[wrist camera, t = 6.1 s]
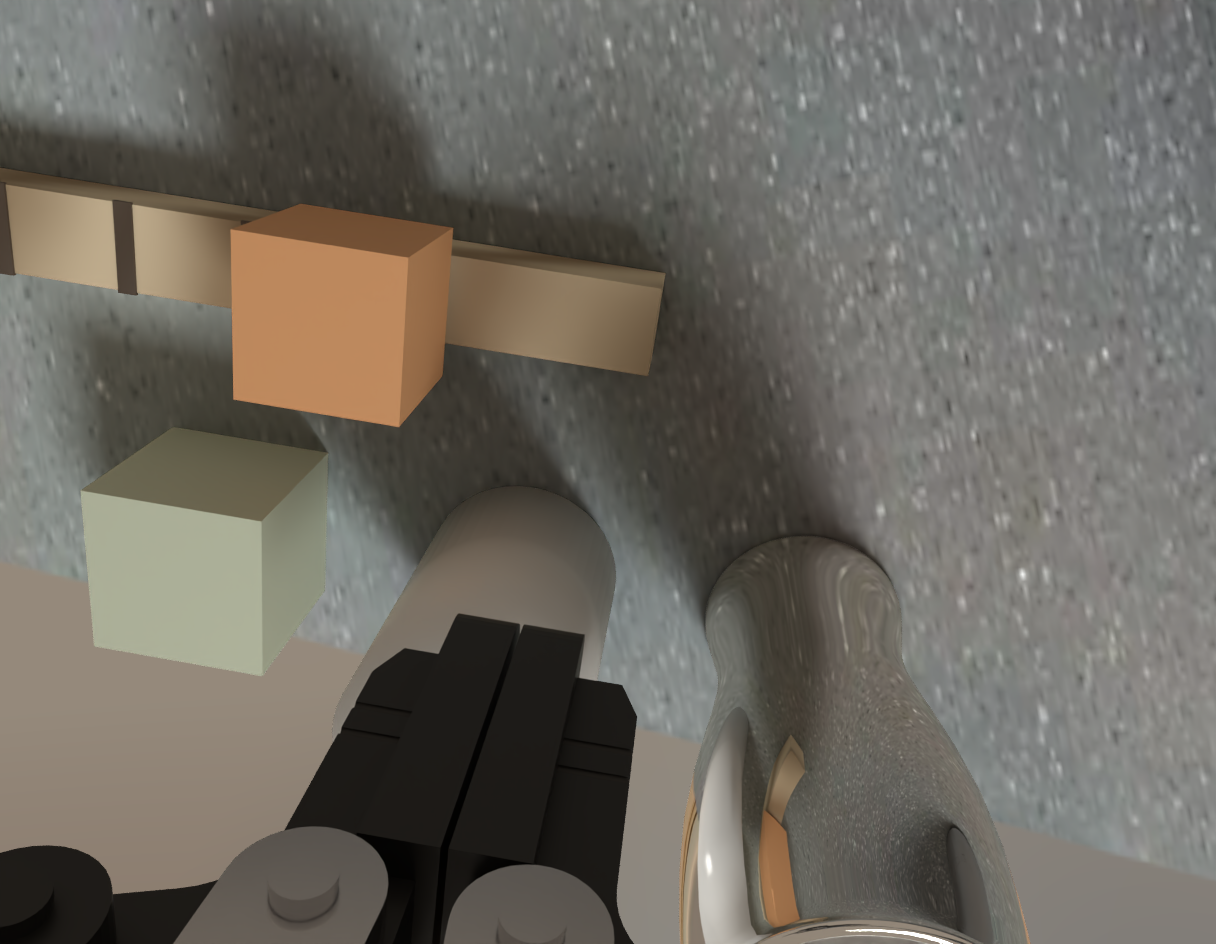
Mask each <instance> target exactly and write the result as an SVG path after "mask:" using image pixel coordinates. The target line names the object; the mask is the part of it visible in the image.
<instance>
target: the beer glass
mask: <svg viewBox="0 0 1216 944" xmlns="http://www.w3.org/2000/svg"><path fill="white" fill-rule="evenodd" d="M705 629H706V637H707V642H708V646H709V650H710V653H711V656H712V660H713V663H714V666H715V669H716V672H717V676H718V688H717V694H716V698H715V702H714V706H713V709H712V712H711V716H710V719H709V722H708V725H707V728H706V732H705V735H704V738H703V742H702V745H701V749H700V752H699V756H698V759H697V763H696V766H695V770H694V773H693V778H692V783H691V788H690V792H689V797H688V802H687V807H686V811H685V816H684V824H683V835H682V847H681V858H680V870H679V872H680V873H679V928H680V944H1031V943H1030V939H1029V936H1028V932H1027V927H1026V924H1025V920H1024V916H1023V912H1022V908H1021V904H1020V900H1019V897H1018V894H1017V891H1016V887H1015V884H1014V881H1013V878H1012V874H1011V872H1010V868H1009V865H1008V862H1007V859H1006V855H1005V852H1004V849H1003V846H1002V843H1001V841H1000V838H999V836H998V833H997V831H996V828H995V826H994V823H993V821H992V818H991V816H990V813H989V811H988V808H987V806H986V803H985V801H984V799H983V796H982V794H981V792H980V790H979V788H978V786H977V784H976V782H975V781H974V779H973V777H972V775H971V773H970V772H969V770H968V768H967V766H966V764H965V762H964V761H963V759H962V757H961V755H960V753H959V752H958V750H957V748H956V746H955V745H954V743H953V742H952V740H951V738H950V737H949V735H948V734H947V732H946V731H945V729H944V728H943V726H942V725H941V723H940V721H939V720H938V718H937V717H936V715H935V714H934V712H933V711H932V709H931V708H930V706H929V705H928V703H927V702H926V700H925V699H924V697H923V696H922V694H921V693H920V691H919V690H918V688H917V687H916V685H915V684H914V682H913V680H912V679H911V677H910V675H909V674H908V672H907V670H906V668H905V665H904V663H903V659H902V615H901V608H900V604H899V600H898V597H897V594H896V591H895V589H894V587H893V585H892V583H891V581H890V580H889V578H888V577H887V575H886V574H885V573H884V572H883V570H882V569H881V568H880V567H879V566H878V565H877V564H876V563H875V562H874V561H873V560H872V559H870V558H869V557H868V556H866V555H865V554H864V553H862V552H860V551H859V550H857V549H855V548H853V547H851V546H849V545H847V544H844V543H842V542H839V541H836V540H832V539H828V538H823V537H816V536H792V537H785V538H780V539H775V540H772V541H769V542H766V543H763V544H761V545H758V546H756V547H754V548H752V549H750V550H749V551H747V552H745V553H744V554H742V555H741V556H740V557H738V558H737V559H736V560H735V561H733V562H732V563H731V564H730V565H729V566H728V567H727V568H726V570H725V571H724V572H723V573H722V574H721V576H720V577H719V579H718V580H717V582H716V584H715V586H714V588H713V590H712V592H711V594H710V597H709V600H708V603H707V608H706V614H705Z"/></svg>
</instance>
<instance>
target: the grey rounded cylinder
mask: <svg viewBox="0 0 1216 944" xmlns="http://www.w3.org/2000/svg"><path fill="white" fill-rule="evenodd" d="M615 584H616V567H615V561H614V557H613V553H612V550H611V548H610V545H609V543H608V541H607V539H606V537H605V535H604V533H603V532H602V531H601V529H600V528H599V526H598V525H597V524H596V523H595V522H594V520H593V519H592V518H591V517H590V516H589V515H588V514H587V513H586V512H584V511H583V510H582V509H581V508H580V507H578V506H577V505H575V504H574V503H572V502H571V501H569V500H567V499H565V498H563V497H561V496H559V495H557V494H554V493H552V492H549V491H546V490H542V489H538V488H533V487H524V486H506V487H499V488H494V489H490V490H487V491H483V492H481V493H479V494H476V495H474V496H472V497H470V498H469V499H467V500H465V501H464V502H462V503H461V504H460V505H459V506H457V507H456V508H455V509H454V510H453V511H452V512H451V513H450V514H449V515H448V516H447V518H446V519H445V521H444V522H443V524H442V525H441V527H440V528H439V530H438V532H437V534H436V535H435V537H434V539H433V540H432V542H431V544H430V545H429V547H428V549H427V551H426V552H425V554H424V556H423V557H422V559H421V561H420V563H419V564H418V566H417V568H416V569H415V571H414V573H413V575H412V576H411V578H410V580H409V581H408V583H407V585H406V587H405V588H404V590H403V592H402V593H401V595H400V597H399V598H398V600H397V602H396V604H395V605H394V607H393V609H392V610H391V612H390V614H389V616H388V617H387V619H386V621H385V622H384V624H383V626H382V628H381V629H380V631H379V633H378V634H377V636H376V638H375V639H374V641H373V643H372V645H371V646H370V648H369V650H368V651H367V653H366V655H365V657H364V658H363V660H362V662H361V664H360V665H359V667H358V669H357V670H356V672H355V674H354V675H353V677H352V679H351V681H350V682H349V684H348V686H347V687H346V689H345V691H344V692H343V694H342V696H341V699H340V701H339V703H338V705H337V708H336V711H335V715H334V719H333V728H332V738H333V741H334V740H335V738H336V736H337V734H338V733H339V734H340V732H341V728H342V725H343V723H344V722H345V720H346V718H347V716H348V714H349V713H350V711H351V709H352V708H354V707H355V703H356V700H357V698H358V696H359V694H360V693H361V691H362V689H363V687H364V685H365V684H366V682H367V680H368V678H369V676H370V674H371V673H372V671H373V670H375V669H376V668H377V667H379V666H380V665H382V664H383V663H384V662H386V661H387V660H389V659H390V658H391V657H393V656H394V655H396V654H397V653H398V652H400V651H401V650H402V649H404V648H408V649H413V650H419V651H425V652H431V653H437V654H439V652H440V649H441V647H442V645H443V643H444V641H445V639H446V636H447V634H448V632H449V630H450V628H451V625H452V623H453V621H454V619H455V617H456V616H457V614H459V613H460V614H466V615H472V616H478V617H484V618H490V619H496V620H501V621H507V622H513V623H519V624H520V633H521V630H522V627H523V625H524V624H526V625H532V626H538V627H544V628H550V629H556V630H561V631H567V632H573V633H579V634H585V641H584V648H583V655H582V662H581V669H580V676H579V678H583V679H589V680H595V681H597V679H598V674H599V669H600V664H601V659H602V653H603V648H604V643H605V638H606V633H607V627H608V622H609V617H610V612H611V607H612V601H613V596H614V591H615Z"/></svg>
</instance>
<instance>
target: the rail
mask: <svg viewBox="0 0 1216 944" xmlns="http://www.w3.org/2000/svg"><path fill="white" fill-rule="evenodd" d="M274 213H277V211H270V210H264V209H258V208H251V207H245V206H239V205H232V204H226V203H220V202H214V201H207V200H201V199H195V198H188V197H182V196H176V195H169V194H163V193H157V192H150V191H144V190H138V189H132V188H125V187H119V186H113V185H106V184H100V183H94V182H87V181H81V180H75V179H68V178H62V177H56V176H49V175H43V174H37V173H31V172H24V171H18V170H12V169H5V168H0V273H1V274H7V275H16V273H17V274H23V275H30V276H36V277H42V278H48V279H54V280H60V281H66V282H73V283H79V284H85V285H91V286H97V287H103V288H109V289H116V290H118V293H124V294H130V295H138V293H140V294H146V295H152V296H159V297H165V298H171V299H177V300H183V301H189V302H195V303H202V304H208V305H214V306H220V307H226V308H232V285H231V229H233V228H236V227H238V226H241V225H244V224H246V223H249V222H252V221H255V220H257V219H260V218H263V217H266V216H268V215H271V214H274ZM665 274H666V273H662V272H655V271H649V270H643V269H636V268H630V267H624V266H617V265H611V264H605V263H598V262H592V261H586V260H580V259H573V258H567V257H561V256H554V255H548V254H542V253H535V252H529V251H523V250H516V249H510V248H504V247H497V246H491V245H485V244H479V243H472V242H466V241H460V240H453V239H452V252H451V266H450V280H449V294H448V307H447V321H446V335H445V343H447V344H453V345H460V346H466V347H472V348H478V349H484V350H490V351H496V352H503V353H509V354H515V355H521V356H527V357H533V358H539V359H546V360H552V361H558V362H564V363H570V364H576V365H582V366H589V367H595V368H601V369H607V370H613V371H619V372H625V373H632V374H638V375H644V376H648V374H649V369H650V364H651V360H652V355H653V349H654V343H655V336H656V330H657V324H658V318H659V312H660V305H661V299H662V293H663V287H664V280H665Z"/></svg>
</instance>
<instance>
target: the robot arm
mask: <svg viewBox="0 0 1216 944" xmlns="http://www.w3.org/2000/svg"><path fill="white" fill-rule="evenodd" d="M584 641H585V634H579V633H573V632H567V631H561V630H556V629H550V628H544V627H538V626H532V625H526V624H524V625H523V627H522V630H521V633H520V624H519V623H513V622H507V621H501V620H496V619H490V618H484V617H478V616H472V615H466V614H460V613H459V614H457V616H456V617H455V619H454V621H453V623H452V625H451V628H450V630H449V632H448V634H447V636H446V639H445V641H444V643H443V645H442V647H441V649H440V652H439V654H437V653H431V652H425V651H419V650H413V649H408V648H404V649H402V650H401V651H400V652H398V653H397V654H396V655H394V656H393V657H391V658H390V659H389V660H387V661H386V662H384V663H383V664H382V665H380V666H379V667H377V668H376V669H375V670H373V671H372V673H371V674H370V676H369V678H368V680H367V682H366V684H365V685H364V687H363V689H362V691H361V693H360V694H359V696H358V698H357V700H356V703H355V707H354V708H352V709H351V711H350V713H349V714H348V716H347V718H346V720H345V722H344V723H343V725H342V728H341V732H340V734H339V733H338V734H337V736H336V738H335V740H334V741H333V744H332V745H331V747H330V749H329V751H328V752H327V754H326V756H325V758H324V760H323V761H322V763H321V765H320V767H319V769H318V771H317V772H316V774H315V776H314V778H313V780H312V781H311V783H310V785H309V787H308V789H307V790H306V792H305V794H304V796H303V798H302V800H301V802H300V803H299V805H298V807H297V809H296V810H295V812H294V814H293V816H292V818H291V820H290V821H289V823H288V825H287V827H286V829H285V830H284V831H281V832H278V833H275V834H272V835H270V836H267V837H265V838H263V839H261V840H259V841H257V842H255V843H254V844H252V845H251V846H249V847H248V848H247V849H245V850H244V851H243V852H241V853H240V854H239V855H238V856H237V857H236V858H235V859H234V860H233V861H232V862H231V864H230V865H229V866H228V867H227V868H226V870H225V871H224V873H223V874H222V875H221V877H220V878H219V880H216V881H213V882H209V883H206V884H202V885H198V886H192V887H185V888H177V889H166V890H155V891H144V892H133V893H122V894H113V892H112V885H111V881H110V878H109V875H108V873H107V871H106V869H105V868H104V867H103V866H102V865H101V864H100V863H99V862H98V861H97V860H96V859H94V858H93V857H91V856H90V855H88V854H86V853H84V852H81V851H79V850H76V849H72V848H67V847H61V846H31V847H25V848H18V849H14V850H10V851H6V852H2V853H0V944H634V943H633V942H632V940H631V939H630V938H629V936H628V934H627V932H626V930H625V928H624V927H623V924H622V921H621V919H620V916H619V913H618V907H617V883H618V875H619V866H620V858H621V849H622V841H623V831H624V823H625V815H626V807H627V806H626V805H627V797H628V789H629V780H630V772H631V763H632V753H633V747H634V737H635V730H636V721H637V716H636V713H635V711H634V709H633V707H632V705H631V703H630V701H629V699H628V696H627V694H626V692H625V690H624V688H623V686H622V685H618V684H612V683H607V682H601V681H595V680H589V679H583V678H579V676H580V669H581V662H582V655H583V648H584Z"/></svg>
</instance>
